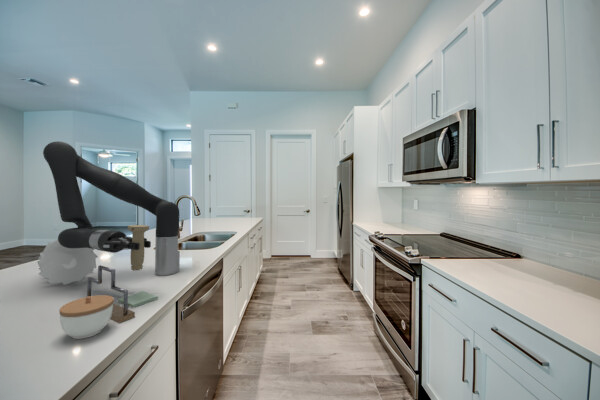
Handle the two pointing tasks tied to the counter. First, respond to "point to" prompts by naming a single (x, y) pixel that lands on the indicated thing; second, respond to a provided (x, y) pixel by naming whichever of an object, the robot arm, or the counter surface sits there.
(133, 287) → the counter surface
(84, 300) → the lidded jar
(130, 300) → the green pad
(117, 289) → the bent wire
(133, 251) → the handle
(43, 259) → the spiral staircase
